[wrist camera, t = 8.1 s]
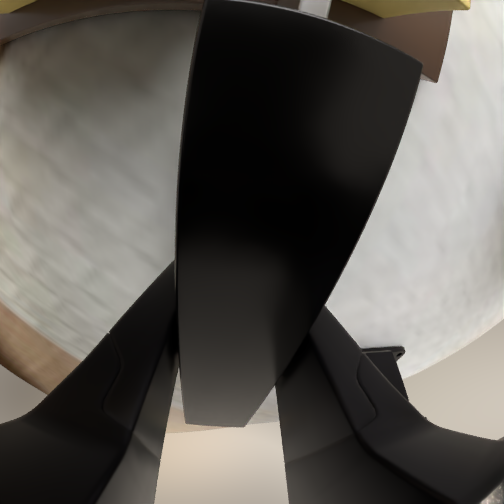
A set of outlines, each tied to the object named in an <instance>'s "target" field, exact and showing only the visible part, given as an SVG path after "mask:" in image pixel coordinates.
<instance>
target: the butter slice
mask: <svg viewBox="0 0 504 504" xmlns="http://www.w3.org/2000/svg"><path fill="white" fill-rule="evenodd" d="M342 1H344V2H347V3H350V4H352V5H355V6H357V7H359V8H362V9H364V10H366V11H369V12H371V13H373V14H375V15H377V16H379V17H382V18H389V17H395V16H400V15H407V14H414V13H423V12H433V11H449V10H469V9H470V1H471V0H342Z"/></svg>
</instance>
